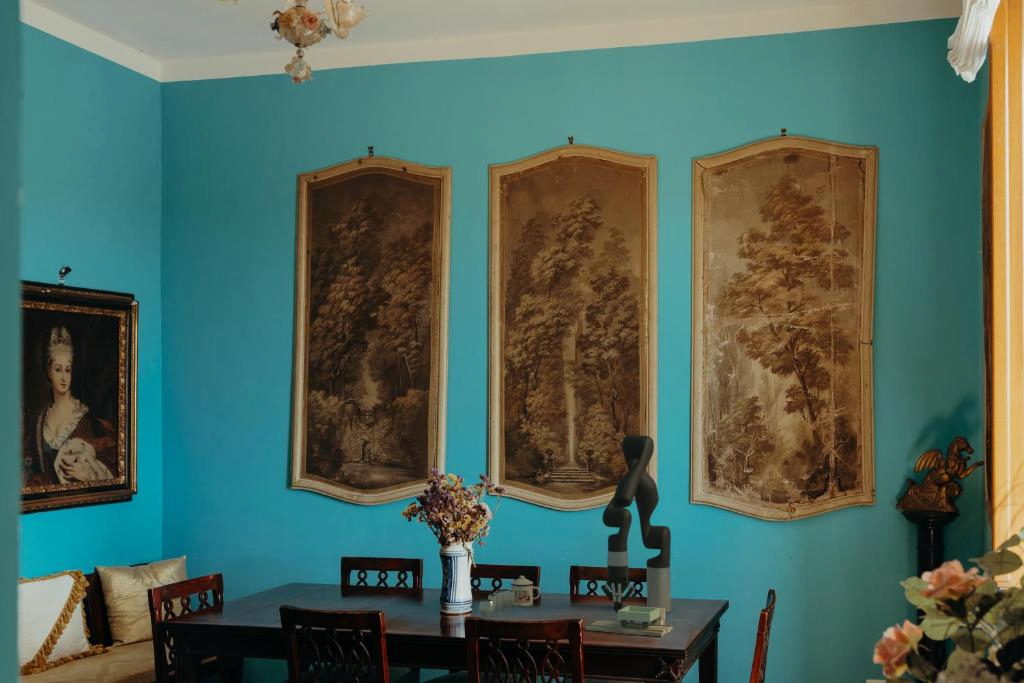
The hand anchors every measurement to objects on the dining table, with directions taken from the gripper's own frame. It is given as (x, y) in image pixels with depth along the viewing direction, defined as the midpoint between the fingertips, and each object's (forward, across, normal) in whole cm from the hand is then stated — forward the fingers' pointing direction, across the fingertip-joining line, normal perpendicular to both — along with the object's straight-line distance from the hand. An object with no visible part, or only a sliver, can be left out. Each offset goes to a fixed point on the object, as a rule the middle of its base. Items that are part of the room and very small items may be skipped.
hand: (618, 612), depth 383 cm
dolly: (+4, -8, 0) cm, 9 cm away
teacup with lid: (+6, +52, -33) cm, 62 cm away
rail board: (+6, -4, 0) cm, 7 cm away
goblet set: (+6, +40, +17) cm, 44 cm away
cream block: (+6, -10, -13) cm, 18 cm away
